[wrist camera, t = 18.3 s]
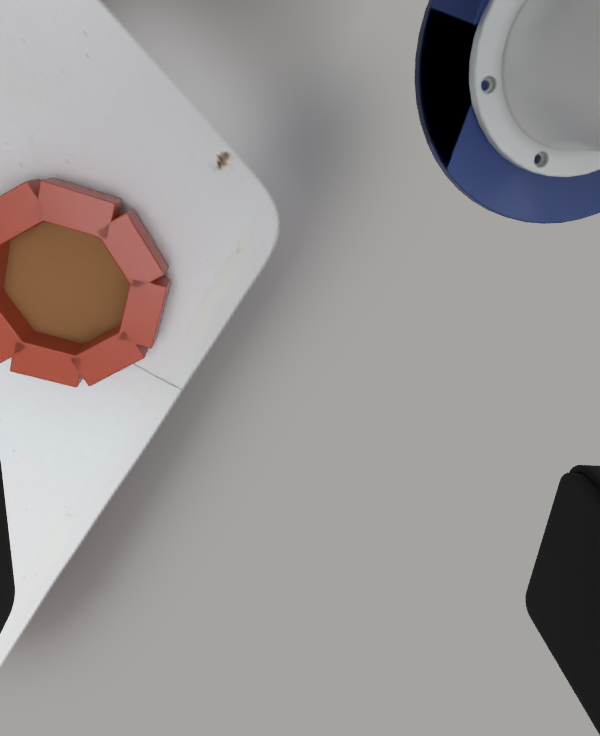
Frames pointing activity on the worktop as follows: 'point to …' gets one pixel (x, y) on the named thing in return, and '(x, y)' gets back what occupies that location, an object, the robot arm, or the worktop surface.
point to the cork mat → (65, 283)
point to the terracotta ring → (130, 252)
